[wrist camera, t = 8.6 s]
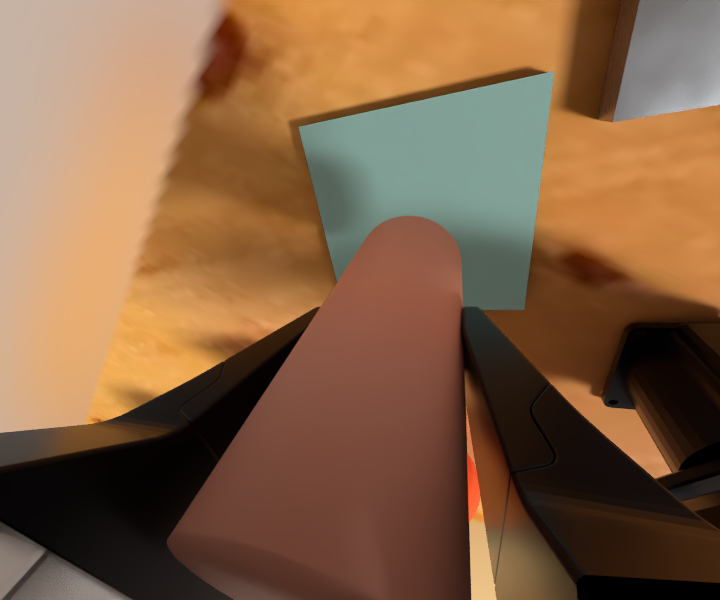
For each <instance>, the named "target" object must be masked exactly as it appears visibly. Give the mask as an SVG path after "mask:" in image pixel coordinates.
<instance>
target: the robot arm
mask: <svg viewBox="0 0 720 600" xmlns="http://www.w3.org/2000/svg"><path fill="white" fill-rule="evenodd" d="M319 309H320V307H316V308H314V309H313V310H311V311H309V312H307V313H306V314H304V315H302V316H301V317H299V318H297V319H295V320H294V321H292V322H290V323H288V324H287V325H285V326H283V327H282V328H280V329H278V330H276V331H275V332H273V333H271V334H270V335H268V336H266V337H264V338H263V339H261V340H259V341H257V342H256V343H254V344H252V345H251V346H249V347H247V348H245V349H244V350H242V351H240V352H239V353H237V354H235V355H233V356H232V357H230V358H228V359H227V360H225V362H221V363H220V364H218V365H216V366H214V367H213V368H211V369H209V370H207V371H206V372H204V373H202V374H200V375H198V376H197V377H195V378H193V379H191V380H189V381H187V382H185V383H184V384H182V385H180V386H178V387H176V388H174V389H172V390H170V391H168V392H166V393H164V394H162V395H160V396H158V397H156V398H155V399H153V400H151V401H149V402H147V403H145V404H143V405H141V406H139V407H137V408H135V409H133V410H131V411H129V412H127V413H125V414H123V415H121V416H118V417H116V418H113V419H110V420H107V421H103V422H99V423H94V424H88V425H78V426H68V427H58V428H48V429H37V430H26V431H16V432H6V433H0V600H234V599H232V598H230V597H229V596H227V595H225V594H224V593H222V592H220V591H219V590H217V589H216V588H214V587H213V586H211V585H210V584H208V583H206V582H205V581H204V580H202V579H201V578H199V577H198V576H196V575H195V574H194V573H193V572H191V571H190V570H189V569H187V568H186V567H185V566H184V565H183V564H182V563H181V562H179V560H178V559H177V558H176V557H175V556H174V555H173V554H172V553H171V551H170V550H169V548H168V546H167V539H168V538H169V536H170V535H171V533H172V532H173V530H174V529H175V527H176V526H177V524H178V523H179V521H180V520H181V518H182V517H183V515H184V513H185V512H186V510H187V509H188V507H189V506H190V504H191V503H192V501H193V500H194V498H195V497H196V495H197V494H198V492H199V491H200V489H201V488H202V486H203V485H204V483H205V482H206V480H207V479H208V477H209V476H210V474H211V473H212V471H213V470H214V468H215V466H216V465H217V463H218V462H219V460H220V459H221V457H222V456H223V454H224V453H225V451H226V450H227V448H228V447H229V445H230V444H231V442H232V441H233V439H234V438H235V436H236V435H237V433H238V432H239V430H240V429H241V427H242V426H243V424H244V423H245V421H246V419H247V418H248V416H249V415H250V413H251V412H252V410H253V409H254V407H255V406H256V404H257V403H258V401H259V400H260V398H261V397H262V395H263V394H264V392H265V391H266V389H267V388H268V386H269V385H270V383H271V382H272V380H273V379H274V377H275V376H276V374H277V372H278V371H279V369H280V368H281V366H282V365H283V363H284V362H285V360H286V359H287V357H288V356H289V354H290V353H291V351H292V350H293V348H294V347H295V345H296V344H297V342H298V341H299V339H300V338H301V336H302V335H303V333H304V332H305V330H306V329H307V327H308V325H309V324H310V322H311V321H312V319H313V318H314V316H315V315H316V313H317V312H318V310H319ZM462 329H463V348H464V365H465V400H466V407H467V413H468V419H469V426H470V432H471V438H472V445H473V451H474V457H475V464H476V470H477V477H478V483H479V489H480V496H481V502H482V508H483V515H484V521H485V527H486V534H487V540H488V547H489V552H490V559H491V565H492V572H493V578H494V583H495V591H496V597H497V600H720V323H633V324H630V325H629V326H627V327H626V328H625V330H624V333H623V336H622V339H621V342H620V344H619V347H618V350H617V353H616V356H615V359H614V362H613V365H612V367H611V370H610V373H609V376H608V379H607V382H606V385H605V388H604V391H603V393H602V396H601V399H602V401H603V403H604V404H605V406H607V407H612V408H624V409H635V410H636V411H637V413H638V415H639V417H640V418H641V420H642V422H643V424H644V425H645V427H646V429H647V430H648V432H649V434H650V436H651V437H652V439H653V441H654V442H655V444H656V446H657V448H658V449H659V451H660V453H661V455H662V456H663V458H664V460H665V461H666V463H667V465H668V467H669V468H670V470H671V472H672V473H671V474H668V475H665V476H662V477H659V478H656V479H654V478H653V477H652V476H651V475H650V474H649V473H647V472H646V471H645V470H644V469H643V468H642V467H640V466H639V465H638V464H637V463H636V462H635V461H634V460H632V459H631V458H630V457H629V456H628V455H627V454H625V453H624V452H623V451H622V450H621V449H620V448H619V447H617V446H616V445H615V444H614V443H613V442H612V441H610V440H609V439H608V438H607V437H606V436H605V435H604V434H602V433H601V432H600V431H599V430H598V429H597V428H596V427H595V426H594V425H593V424H591V423H590V422H589V421H588V420H587V419H586V418H585V417H584V416H583V415H581V414H580V413H579V412H578V411H577V410H576V409H575V408H574V407H573V406H572V405H571V404H570V403H569V402H568V401H567V400H566V399H565V398H564V397H563V396H562V395H561V393H560V392H559V391H558V390H557V389H556V388H555V387H554V386H553V385H552V384H550V382H549V381H548V380H547V379H546V378H545V377H544V376H543V375H542V374H541V373H540V372H539V370H538V369H537V368H536V367H535V366H534V365H533V364H532V363H531V362H530V361H529V360H528V359H527V358H526V357H525V356H524V355H523V354H522V353H521V352H520V350H519V349H518V348H517V347H516V346H515V345H514V344H513V343H512V342H511V341H510V340H509V339H508V338H507V337H506V336H505V335H504V334H503V333H502V331H501V330H500V329H499V328H498V327H497V326H496V325H495V324H494V323H493V322H492V321H491V320H490V319H489V318H488V317H487V316H486V315H485V314H484V313H483V311H482V310H481V309H480V308H479V307H476V306H467V307H463V308H462ZM637 331H640V332H639V333H636V334H634V333H635V332H637Z"/></svg>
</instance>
